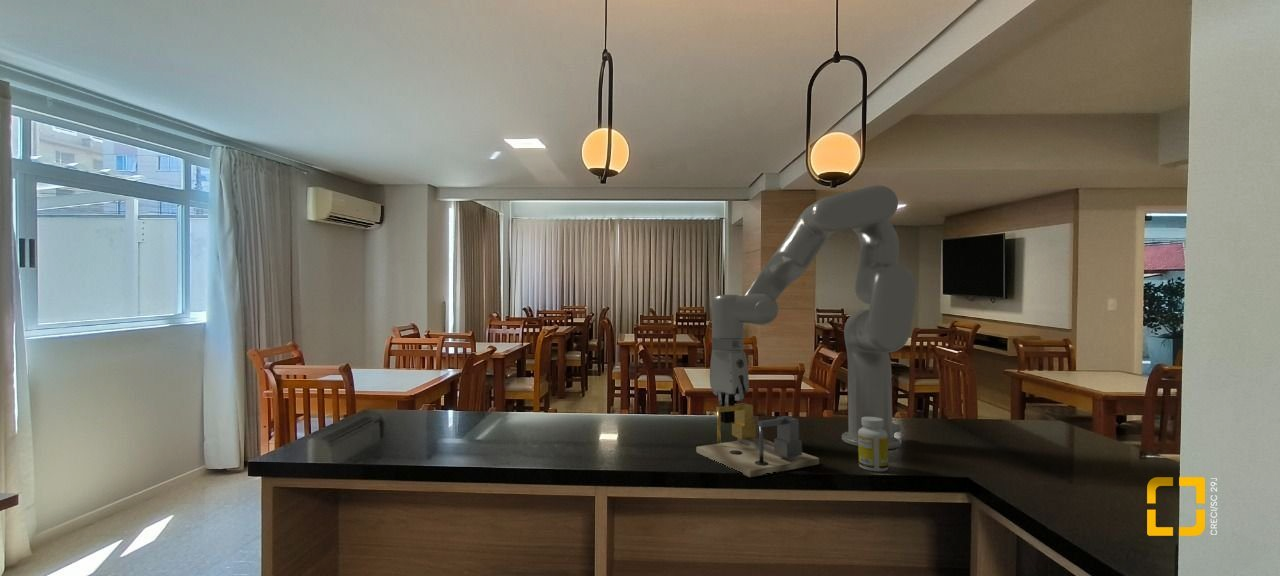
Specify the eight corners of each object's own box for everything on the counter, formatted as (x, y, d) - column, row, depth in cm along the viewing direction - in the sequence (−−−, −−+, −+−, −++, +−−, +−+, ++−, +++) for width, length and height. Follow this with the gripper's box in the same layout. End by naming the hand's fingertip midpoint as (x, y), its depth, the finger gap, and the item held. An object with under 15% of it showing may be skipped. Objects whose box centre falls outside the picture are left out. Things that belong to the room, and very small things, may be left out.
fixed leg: (789, 454, 102) (788, 415, 102) (801, 458, 98) (801, 418, 99) (753, 460, 97) (753, 419, 98) (766, 465, 94) (765, 423, 95)
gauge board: (759, 442, 116) (759, 433, 116) (819, 464, 100) (818, 453, 100) (696, 452, 107) (696, 442, 108) (749, 477, 91) (749, 465, 92)
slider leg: (745, 436, 114) (745, 402, 114) (755, 439, 111) (755, 405, 111) (712, 440, 110) (712, 405, 110) (722, 444, 107) (722, 408, 107)
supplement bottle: (885, 465, 99) (884, 416, 100) (891, 473, 94) (890, 422, 95) (856, 462, 101) (855, 415, 101) (860, 471, 96) (860, 420, 96)
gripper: (760, 347, 113) (760, 427, 112) (721, 343, 126) (721, 414, 125) (734, 348, 110) (734, 430, 109) (697, 343, 123) (697, 417, 122)
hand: (727, 421), depth 117 cm, fingers closed
